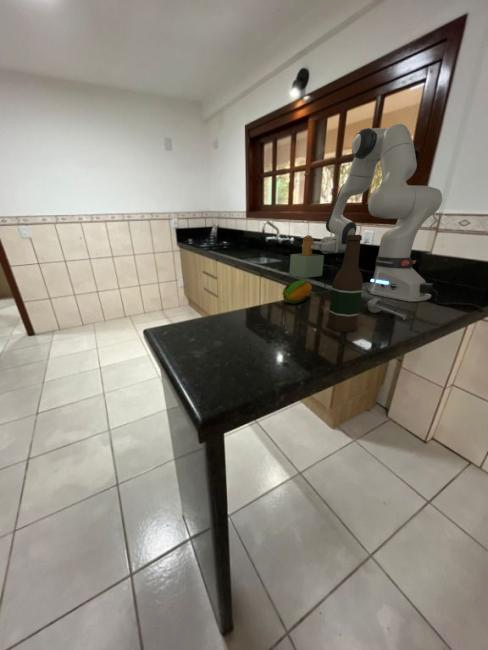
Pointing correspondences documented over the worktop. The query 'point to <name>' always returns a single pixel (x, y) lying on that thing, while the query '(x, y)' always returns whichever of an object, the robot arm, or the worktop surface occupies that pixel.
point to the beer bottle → (347, 289)
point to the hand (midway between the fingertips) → (306, 246)
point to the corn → (296, 291)
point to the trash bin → (306, 265)
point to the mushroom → (381, 307)
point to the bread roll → (307, 246)
